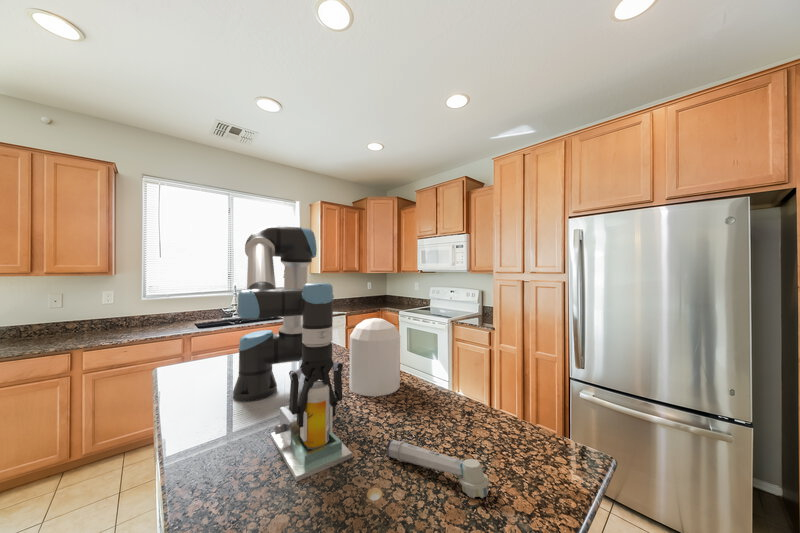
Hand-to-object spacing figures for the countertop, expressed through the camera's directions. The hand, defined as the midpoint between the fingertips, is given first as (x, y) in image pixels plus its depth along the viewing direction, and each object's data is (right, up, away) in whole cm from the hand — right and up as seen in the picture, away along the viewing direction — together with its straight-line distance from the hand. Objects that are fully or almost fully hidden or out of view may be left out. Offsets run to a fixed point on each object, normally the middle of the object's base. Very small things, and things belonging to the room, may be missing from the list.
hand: (316, 433), depth 74 cm
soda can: (0, -3, 0) cm, 3 cm away
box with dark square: (-3, -6, +4) cm, 8 cm away
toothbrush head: (+29, -6, -6) cm, 31 cm away
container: (+11, -7, +46) cm, 48 cm away
